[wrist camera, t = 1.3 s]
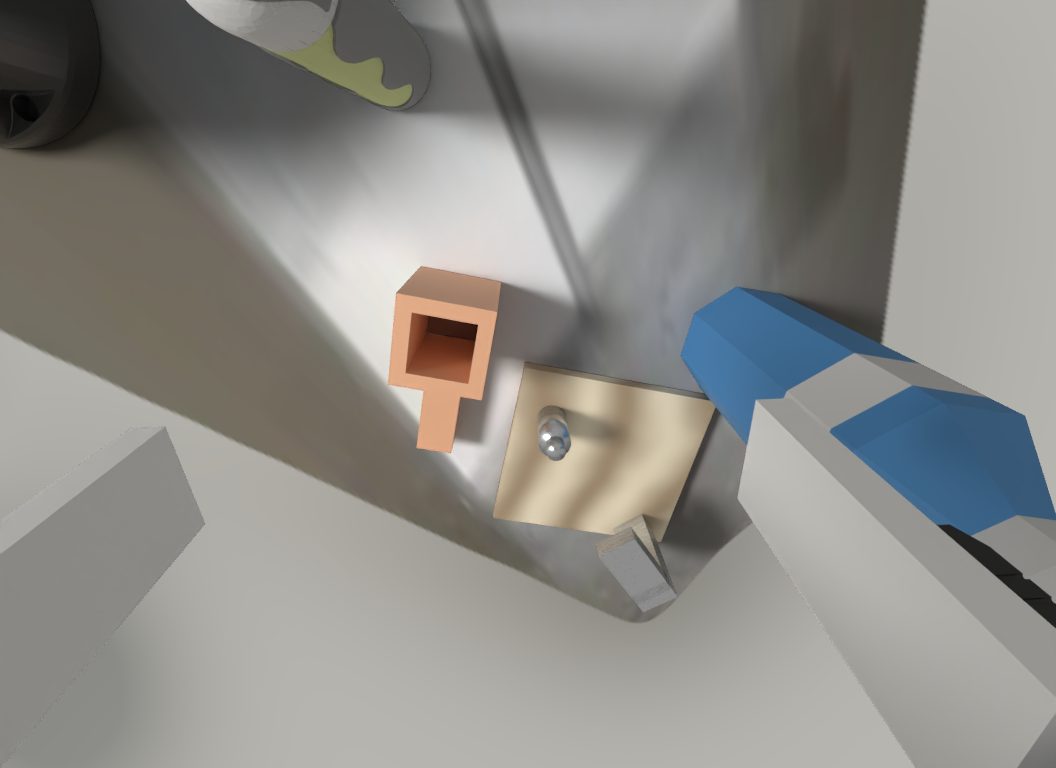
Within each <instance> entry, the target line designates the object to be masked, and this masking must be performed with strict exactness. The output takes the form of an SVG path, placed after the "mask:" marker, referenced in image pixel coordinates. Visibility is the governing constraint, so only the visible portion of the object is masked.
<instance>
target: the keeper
mask: <svg viewBox="0 0 1056 768" xmlns="http://www.w3.org/2000/svg"><path fill="white" fill-rule="evenodd" d="M613 530H614V533H615V534H614V535H612V536H610V537H608V538H606V539H605V540H603V541H601V542H599V543H597V549H598V554H599V558H600V559H601V560H602V561H603V563H604V564H605V565H606V566H607V568H608V569H609V570H610V571H611V573H612V574H613V575H614V576H615V578H616V579H617V580H618V581H619V583H620V584H621V585H622V586H623V588H624V589H625V590H626V591H627V592H628V594H629V595H630V596H631V597H632V599H633V600H634V601H635V602H636V604H637V605H638V606H639V607H640V609H641V610H642V611H643V612H645V611H647V610H649V609H652V608H654V607H656V606H658V605H660V604H662V603H665V602H667V601H669V600H671V599H673V598H675V597H677V594H676V591H675V589H674V586H673V583H672V581H671V578H670V575H669V572H668V570H667V567H666V564H665V562H664V559H663V556H662V554H661V551H660V548H659V545H658V543H657V540H656V537H655V535H654V532H653V529H652V527H651V526H650V524H649V523H648V522H647V520H646V519H645V517H644V516H643V515H642V514H640V515H638V516H636V517H634V518H632V519H630V520H628V521H626V522H624V523H622V524H620V525H618V526H616V527H614V528H613Z"/></svg>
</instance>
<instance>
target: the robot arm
mask: <svg viewBox="0 0 1056 768" xmlns="http://www.w3.org/2000/svg"><path fill="white" fill-rule="evenodd" d="M99 70H100V46H99V37H98V31H97V25H96V21H95V17H94V13H93V9H92V6H91V2H90V0H0V148H30V147H37V146H41V145H45V144H48V143H50V142H53V141H55V140H57V139H59V138H61V137H63V136H64V135H66V134H67V133H68V132H70V131H71V130H72V129H73V128H74V127H75V126H76V125H77V124H78V123H79V122H80V121H81V119H82V118H83V117H84V115H85V114H86V112H87V111H88V109H89V107H90V105H91V103H92V100H93V98H94V95H95V91H96V88H97V83H98V78H99ZM737 499H738V500H739V502H740V503H741V505H742V506H743V508H744V509H745V511H746V512H747V514H748V515H749V517H750V518H751V520H752V521H753V523H754V524H755V526H756V527H757V529H758V530H759V532H760V533H761V535H762V536H763V538H764V539H765V541H766V542H767V544H768V545H769V547H770V548H771V550H772V551H773V553H774V555H775V556H776V558H777V559H778V561H779V562H780V564H781V565H782V567H783V568H784V570H785V571H786V572H787V574H788V576H789V577H790V578H791V580H792V582H793V583H794V585H795V586H796V588H797V589H798V591H799V592H800V594H801V595H802V597H803V598H804V600H805V601H806V603H807V604H808V606H809V608H810V609H811V611H812V612H813V614H814V615H815V617H816V618H817V620H818V621H819V623H820V624H821V626H822V627H823V629H824V630H825V632H826V633H827V635H828V636H829V638H830V639H831V641H832V642H833V644H834V645H835V647H836V648H837V650H838V651H839V653H840V654H841V656H842V657H843V659H844V660H845V662H846V663H847V665H848V666H849V668H850V670H851V671H852V673H853V674H854V676H855V677H856V678H857V680H858V682H859V683H860V685H861V686H862V688H863V689H864V691H865V692H866V694H867V695H868V697H869V698H870V700H871V701H872V703H873V704H874V706H875V707H876V709H877V710H878V712H879V713H880V715H881V716H882V718H883V719H884V721H885V722H886V724H887V725H888V727H889V728H890V730H891V731H892V733H893V735H894V736H895V738H896V739H897V741H898V742H899V744H900V745H901V747H902V748H903V750H904V751H905V753H906V754H907V756H908V757H909V759H910V760H911V762H912V763H913V765H914V766H915V768H1056V603H1054V602H1053V601H1052V599H1051V598H1052V597H1051V596H1050V595H1049V594H1047V593H1046V592H1045V591H1044V590H1042V589H1041V588H1040V587H1039V586H1038V585H1036V584H1035V583H1034V582H1033V581H1031V580H1030V579H1024V577H1023V573H1022V572H1020V571H1019V570H1018V569H1017V568H1015V567H1014V566H1013V565H1012V564H1011V563H1009V562H1008V561H1007V560H1006V559H1004V558H1003V557H1002V556H1001V555H999V554H998V553H997V552H996V551H995V550H993V549H992V548H991V547H990V546H988V545H986V544H984V543H983V542H981V541H979V540H977V539H975V538H973V537H972V536H970V535H968V534H966V533H964V532H963V531H961V530H959V529H957V528H955V527H953V526H952V525H950V524H946V525H936V524H935V523H933V522H932V521H931V520H930V519H929V518H928V517H926V516H925V515H924V514H923V513H922V512H921V511H920V510H918V509H917V508H916V507H915V506H914V505H913V504H911V503H910V502H909V501H908V500H907V499H906V498H905V497H903V496H902V495H901V494H900V493H899V492H898V491H896V490H895V489H894V488H893V487H892V486H891V485H890V484H888V483H887V482H886V481H885V480H884V479H883V478H881V477H880V476H879V475H878V474H877V473H876V472H875V471H873V470H872V469H871V468H870V467H869V466H868V465H866V464H865V463H864V462H863V461H862V460H861V459H859V458H858V457H857V456H856V455H855V454H854V453H853V452H851V451H850V450H849V449H848V448H847V447H846V446H844V445H843V444H842V443H841V442H840V441H839V440H838V439H836V438H835V437H834V436H833V435H832V434H831V433H829V432H828V431H827V430H826V429H825V428H824V427H823V426H821V425H820V424H819V423H818V422H817V421H816V420H814V419H813V418H812V417H811V416H810V415H809V414H808V413H806V412H805V411H804V410H803V409H802V408H801V407H799V406H798V405H797V404H796V403H795V402H794V401H793V400H791V399H790V398H782V399H760V400H756V402H755V407H754V413H753V418H752V423H751V429H750V434H749V439H748V445H747V450H746V455H745V461H744V466H743V471H742V477H741V482H740V487H739V493H738V498H737ZM204 525H205V522H204V519H203V517H202V515H201V512H200V510H199V507H198V505H197V502H196V500H195V498H194V495H193V493H192V490H191V488H190V486H189V483H188V481H187V478H186V476H185V473H184V471H183V468H182V466H181V464H180V461H179V459H178V456H177V454H176V451H175V449H174V447H173V444H172V442H171V439H170V437H169V435H168V432H167V430H166V427H165V426H164V427H142V428H130V429H128V430H127V431H125V432H124V433H123V434H121V435H120V436H118V437H117V438H115V439H114V440H113V441H111V442H110V443H108V444H107V445H106V446H104V447H103V448H101V449H100V450H99V451H97V452H96V453H94V454H93V455H91V456H90V457H89V458H87V459H86V460H84V461H83V462H82V463H80V464H79V465H78V466H76V467H75V468H73V469H72V470H70V471H69V472H67V473H66V474H65V475H63V476H62V477H60V478H59V479H58V480H56V481H55V482H53V483H52V484H51V485H49V486H48V487H46V488H45V489H44V490H42V491H41V492H39V493H38V494H36V495H35V496H34V497H32V498H31V499H29V500H28V501H27V502H25V503H24V504H22V505H21V506H20V507H18V508H17V509H15V510H14V511H12V512H11V513H10V514H8V515H7V516H5V517H4V518H3V519H1V520H0V768H1V767H2V766H3V764H5V763H6V761H7V760H8V759H9V758H10V756H11V755H12V754H13V753H14V752H15V751H16V749H17V748H18V747H19V746H20V745H21V744H22V742H23V741H24V740H25V739H26V738H27V736H28V735H29V734H30V733H31V731H32V730H33V729H34V728H35V727H36V726H37V724H38V723H39V722H40V721H41V719H42V718H43V717H44V716H45V715H46V714H47V712H48V711H49V710H50V709H51V708H52V706H53V705H54V704H55V703H56V702H57V700H58V699H59V698H60V697H61V696H62V695H63V693H64V692H65V691H66V690H67V689H68V687H69V686H70V685H71V684H72V683H73V681H74V680H75V679H76V678H77V676H78V675H79V674H80V673H81V672H82V671H83V669H84V668H85V667H86V666H87V665H88V663H89V662H90V661H91V660H92V659H93V657H94V656H95V655H96V654H97V653H98V651H99V650H100V649H101V648H102V647H103V646H104V644H105V643H106V642H107V641H108V640H109V638H110V637H111V636H112V635H113V634H114V632H115V631H116V630H117V629H118V628H119V626H120V625H121V624H122V623H123V622H124V620H125V619H126V618H127V617H128V615H129V614H130V613H131V612H132V611H133V610H134V608H135V607H136V606H137V605H138V604H139V603H140V601H141V600H142V599H143V598H144V596H145V595H146V594H147V593H148V592H149V590H150V589H151V588H152V587H153V586H154V584H155V583H156V582H157V581H158V580H159V579H160V577H161V576H162V575H163V574H164V573H165V571H166V570H167V569H168V568H169V567H170V566H171V564H172V563H173V562H174V561H175V560H176V558H177V557H178V556H179V555H180V554H181V552H182V551H183V550H184V549H185V548H186V546H187V545H188V544H189V543H190V542H191V540H192V539H193V538H194V537H195V536H196V534H197V533H198V532H199V531H200V529H201V528H202V527H203V526H204Z"/></svg>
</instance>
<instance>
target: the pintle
mask: <svg viewBox="0 0 1056 768" xmlns="http://www.w3.org/2000/svg"><path fill="white" fill-rule="evenodd" d="M537 425H538V437H539V447H540V450H541V452H542V453H543V454H544V455H546V456H548V458H549V459H550V460H552V461H560V460H562V459H563V458H564V457H565V455H566V453H567V452H568V451H569V450H570V448H571V439H570V433H569V428H568V423H567V418H566V414H565V412H564V410H563V409H562V408H560V407H558V406H554V405H550V406H546V407H544V408H542V409H541V410H540V411H539V413H538V415H537Z"/></svg>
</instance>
